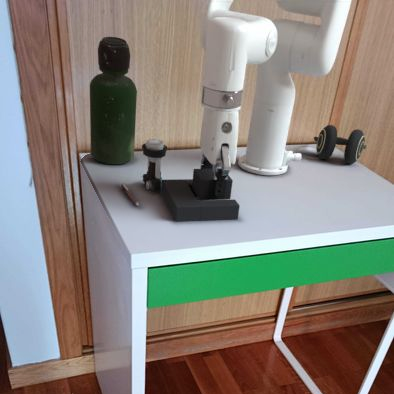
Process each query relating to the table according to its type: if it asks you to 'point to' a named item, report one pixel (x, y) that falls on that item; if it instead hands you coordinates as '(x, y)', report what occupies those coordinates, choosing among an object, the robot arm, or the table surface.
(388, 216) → the table surface
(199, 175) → the small black block
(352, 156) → the black dumbbell
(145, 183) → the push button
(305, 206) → the table surface
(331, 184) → the table surface
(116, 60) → the green bottle
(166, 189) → the black u-shaped block
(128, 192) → the pen
